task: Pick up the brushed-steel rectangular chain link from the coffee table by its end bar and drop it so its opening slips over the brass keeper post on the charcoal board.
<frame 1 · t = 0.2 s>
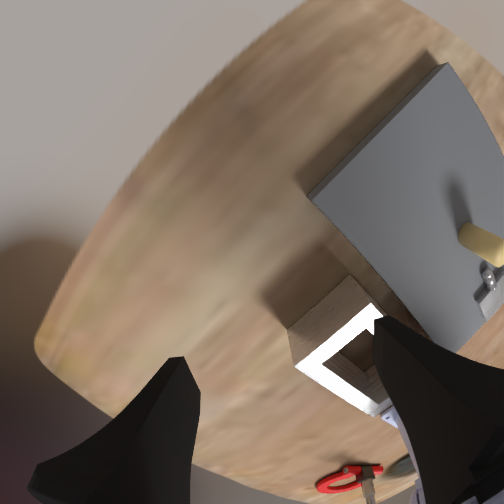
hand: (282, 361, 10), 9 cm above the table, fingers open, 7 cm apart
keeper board: (455, 228, 18), on the table
tow hook: (346, 476, 31), on the table
chain anchor: (482, 285, 20), resting on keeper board
steel link: (357, 338, 21), on the table
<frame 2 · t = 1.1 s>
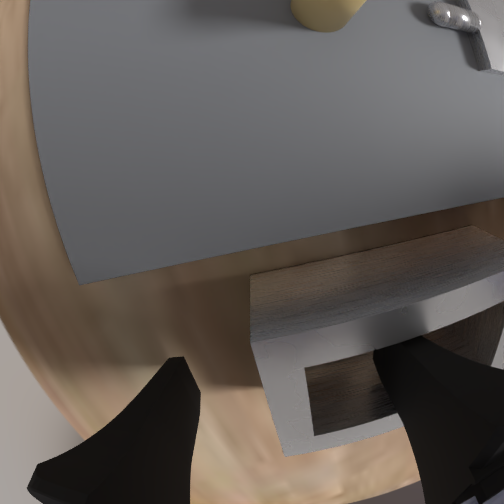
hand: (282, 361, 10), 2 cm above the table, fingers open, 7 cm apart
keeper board: (310, 26, 8), on the table
chain anchor: (467, 38, 7), resting on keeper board
steel link: (380, 313, 11), on the table
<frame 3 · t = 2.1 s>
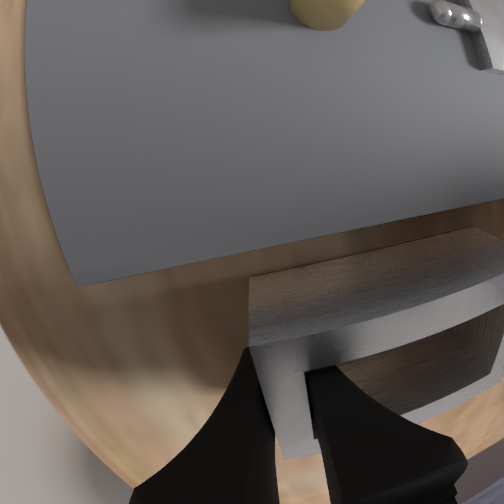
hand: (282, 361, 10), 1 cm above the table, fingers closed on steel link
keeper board: (310, 24, 7), on the table
chain anchor: (467, 37, 7), resting on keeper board
steel link: (381, 315, 11), on the table, touching gripper
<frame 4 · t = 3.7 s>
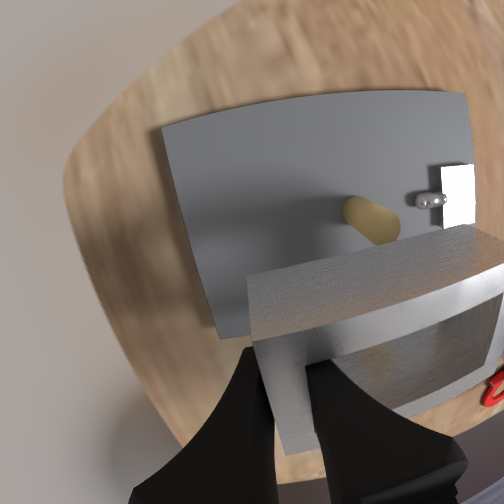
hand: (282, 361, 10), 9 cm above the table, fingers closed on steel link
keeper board: (348, 205, 18), on the table
tow hook: (502, 380, 26), on the table
chain anchor: (441, 190, 17), resting on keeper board
steel link: (375, 311, 12), point 8 cm above the table, touching gripper
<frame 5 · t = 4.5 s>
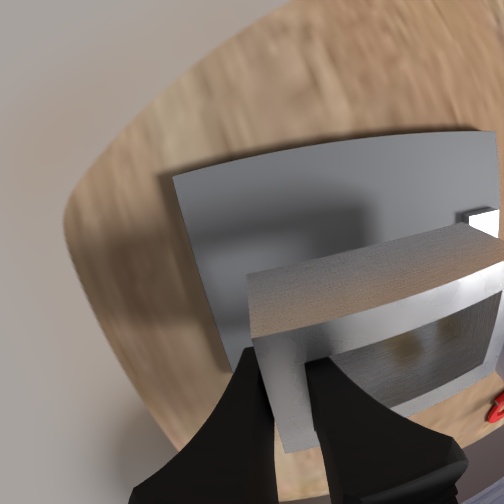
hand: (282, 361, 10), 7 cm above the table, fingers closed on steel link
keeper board: (373, 255, 17), on the table
chain anchor: (463, 233, 16), resting on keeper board
steel link: (374, 309, 12), point 5 cm above the table, touching gripper
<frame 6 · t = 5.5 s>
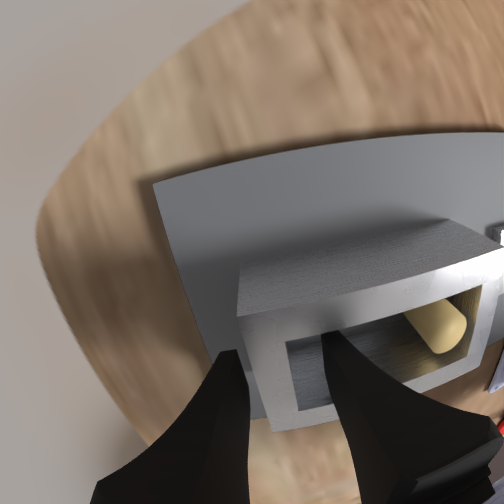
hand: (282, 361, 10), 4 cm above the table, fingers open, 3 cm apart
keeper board: (393, 275, 14), on the table
chain anchor: (489, 247, 13), resting on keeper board
steel link: (362, 300, 13), point 1 cm above the table, touching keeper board
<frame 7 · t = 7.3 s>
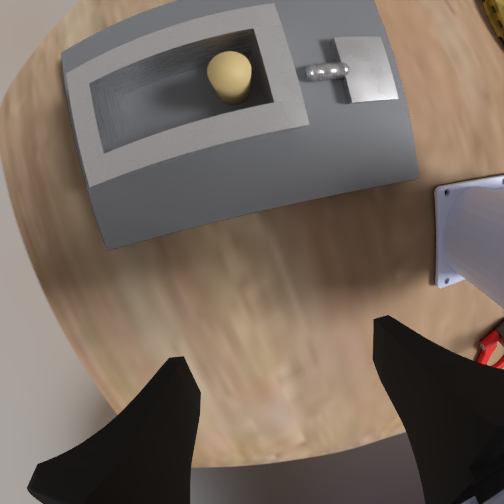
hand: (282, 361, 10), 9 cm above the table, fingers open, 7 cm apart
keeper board: (234, 94, 15), on the table
tow hook: (497, 345, 23), on the table
chain anchor: (353, 75, 15), resting on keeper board
steel link: (191, 100, 14), point 1 cm above the table, touching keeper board
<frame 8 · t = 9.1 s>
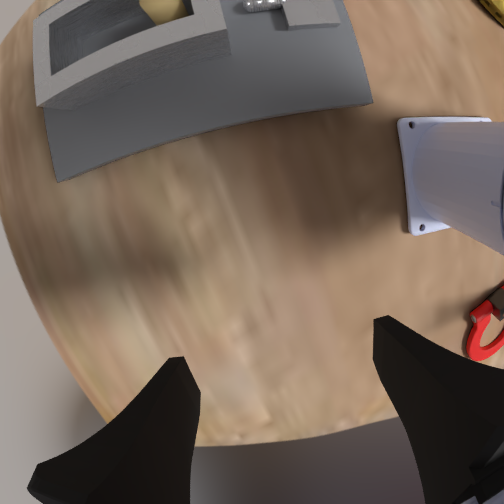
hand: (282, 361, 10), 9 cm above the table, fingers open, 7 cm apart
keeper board: (182, 33, 14), on the table
tow hook: (492, 321, 22), on the table
chain anchor: (300, 12, 13), resting on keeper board
steel link: (138, 38, 13), point 1 cm above the table, touching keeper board
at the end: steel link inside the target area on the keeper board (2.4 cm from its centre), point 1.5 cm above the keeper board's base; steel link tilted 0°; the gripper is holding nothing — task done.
